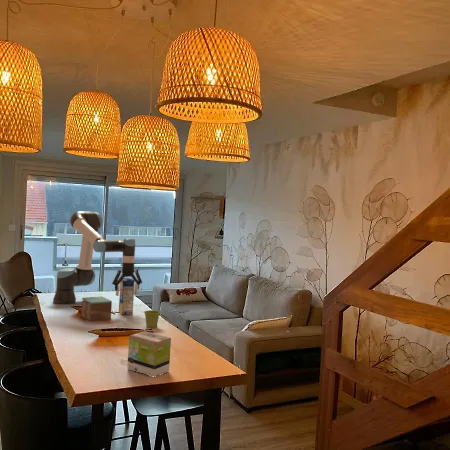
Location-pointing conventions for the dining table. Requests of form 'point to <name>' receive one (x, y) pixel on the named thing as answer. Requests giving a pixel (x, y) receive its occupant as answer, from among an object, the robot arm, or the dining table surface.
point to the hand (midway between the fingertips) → (126, 294)
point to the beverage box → (126, 296)
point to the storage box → (96, 311)
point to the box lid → (96, 300)
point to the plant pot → (151, 318)
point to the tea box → (149, 353)
